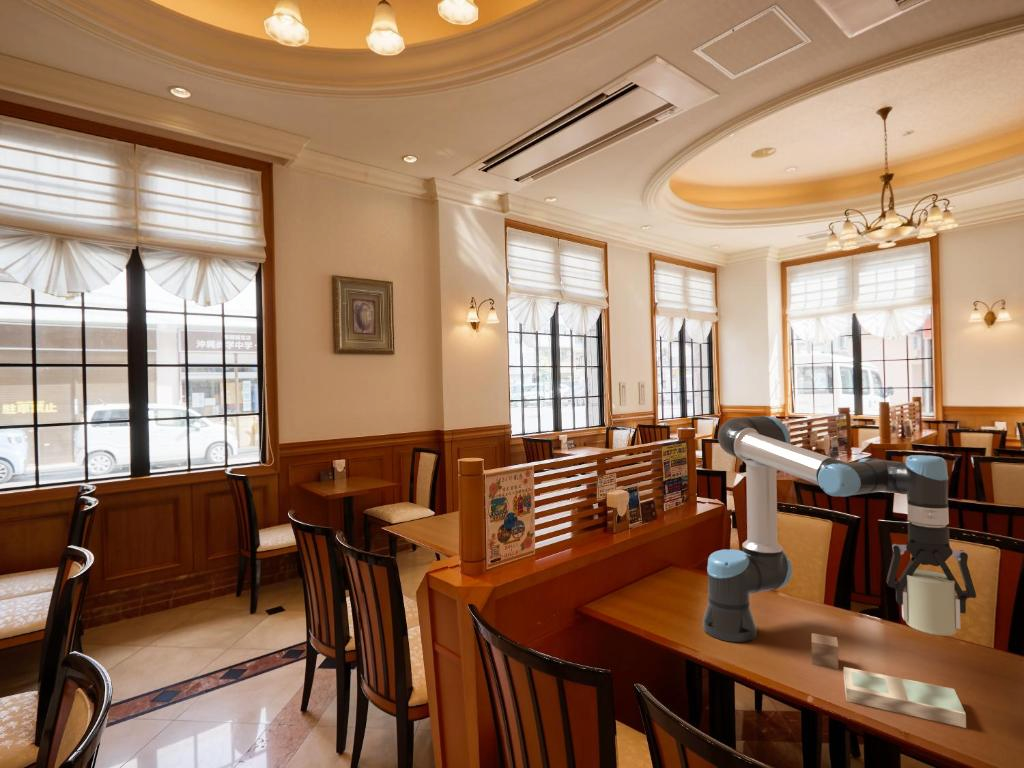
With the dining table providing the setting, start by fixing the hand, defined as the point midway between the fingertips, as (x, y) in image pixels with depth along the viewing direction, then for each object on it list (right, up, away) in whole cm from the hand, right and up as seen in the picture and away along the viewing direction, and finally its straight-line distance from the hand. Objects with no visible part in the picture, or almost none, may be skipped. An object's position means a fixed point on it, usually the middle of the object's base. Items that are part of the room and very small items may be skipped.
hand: (930, 622), depth 124 cm
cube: (-12, -20, +21) cm, 32 cm away
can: (0, -1, 0) cm, 1 cm away
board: (-5, -20, +3) cm, 21 cm away
